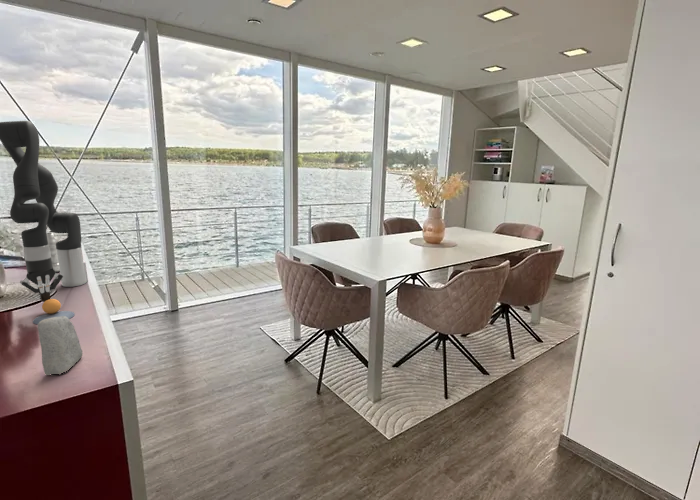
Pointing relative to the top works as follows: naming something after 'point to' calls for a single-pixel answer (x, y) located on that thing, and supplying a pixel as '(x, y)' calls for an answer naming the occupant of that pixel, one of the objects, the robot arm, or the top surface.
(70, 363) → the decorative stone
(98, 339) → the top surface
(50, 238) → the plastic bottle
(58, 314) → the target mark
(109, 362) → the top surface
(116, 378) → the top surface
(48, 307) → the ball
